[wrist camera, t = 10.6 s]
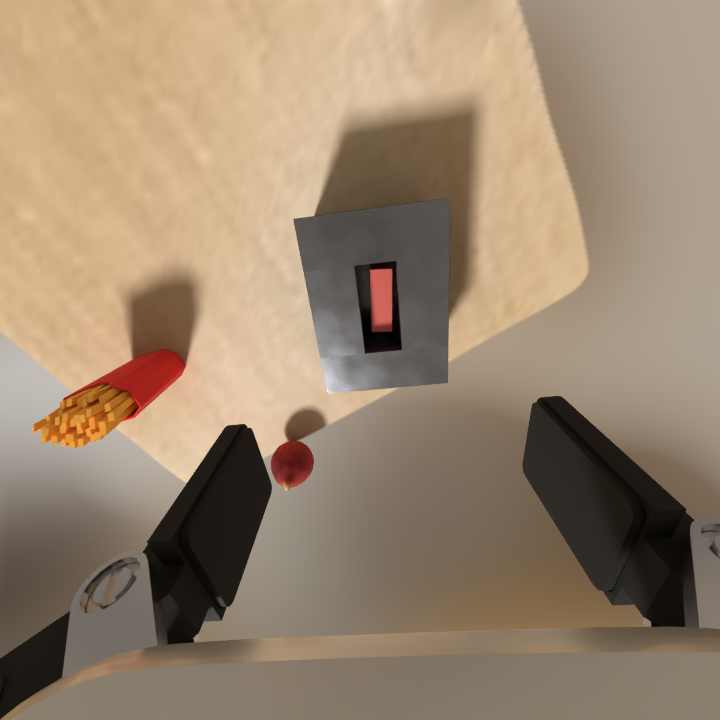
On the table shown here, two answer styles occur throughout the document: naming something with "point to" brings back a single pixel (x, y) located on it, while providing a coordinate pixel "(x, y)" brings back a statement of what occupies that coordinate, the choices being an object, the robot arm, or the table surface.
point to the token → (381, 296)
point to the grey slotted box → (353, 300)
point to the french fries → (110, 400)
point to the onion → (292, 464)
